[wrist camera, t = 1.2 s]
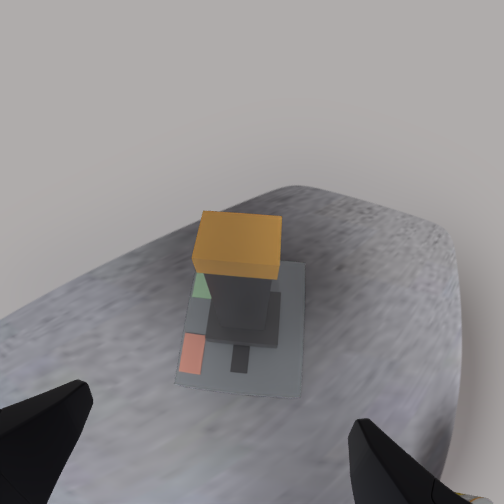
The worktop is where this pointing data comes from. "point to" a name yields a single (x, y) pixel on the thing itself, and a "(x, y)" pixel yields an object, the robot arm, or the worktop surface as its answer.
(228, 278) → the breaker handle
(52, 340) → the worktop surface
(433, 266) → the worktop surface
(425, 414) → the worktop surface
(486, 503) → the supplement bottle
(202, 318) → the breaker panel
